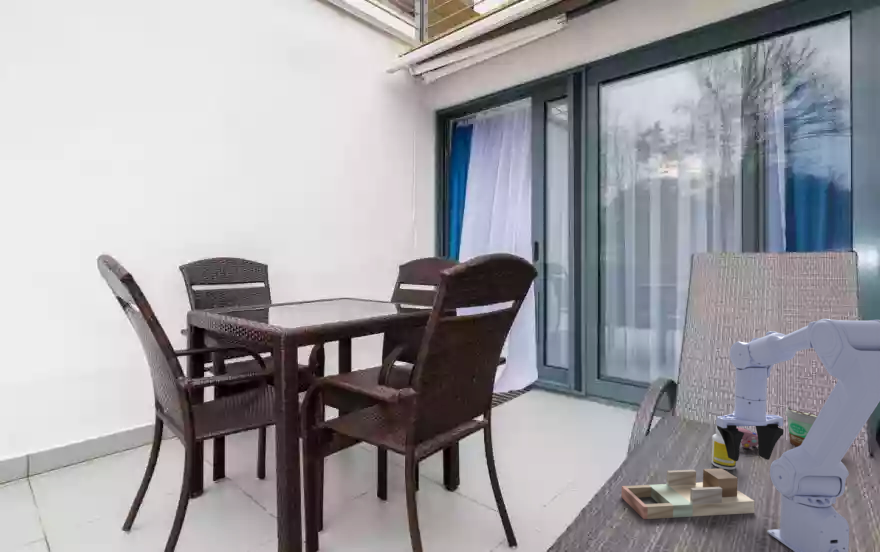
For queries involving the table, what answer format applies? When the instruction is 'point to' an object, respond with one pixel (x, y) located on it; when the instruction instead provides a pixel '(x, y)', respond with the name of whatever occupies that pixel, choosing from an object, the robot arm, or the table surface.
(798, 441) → the food container
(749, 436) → the video game controller
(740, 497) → the board
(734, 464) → the supplement bottle
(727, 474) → the walnut block
